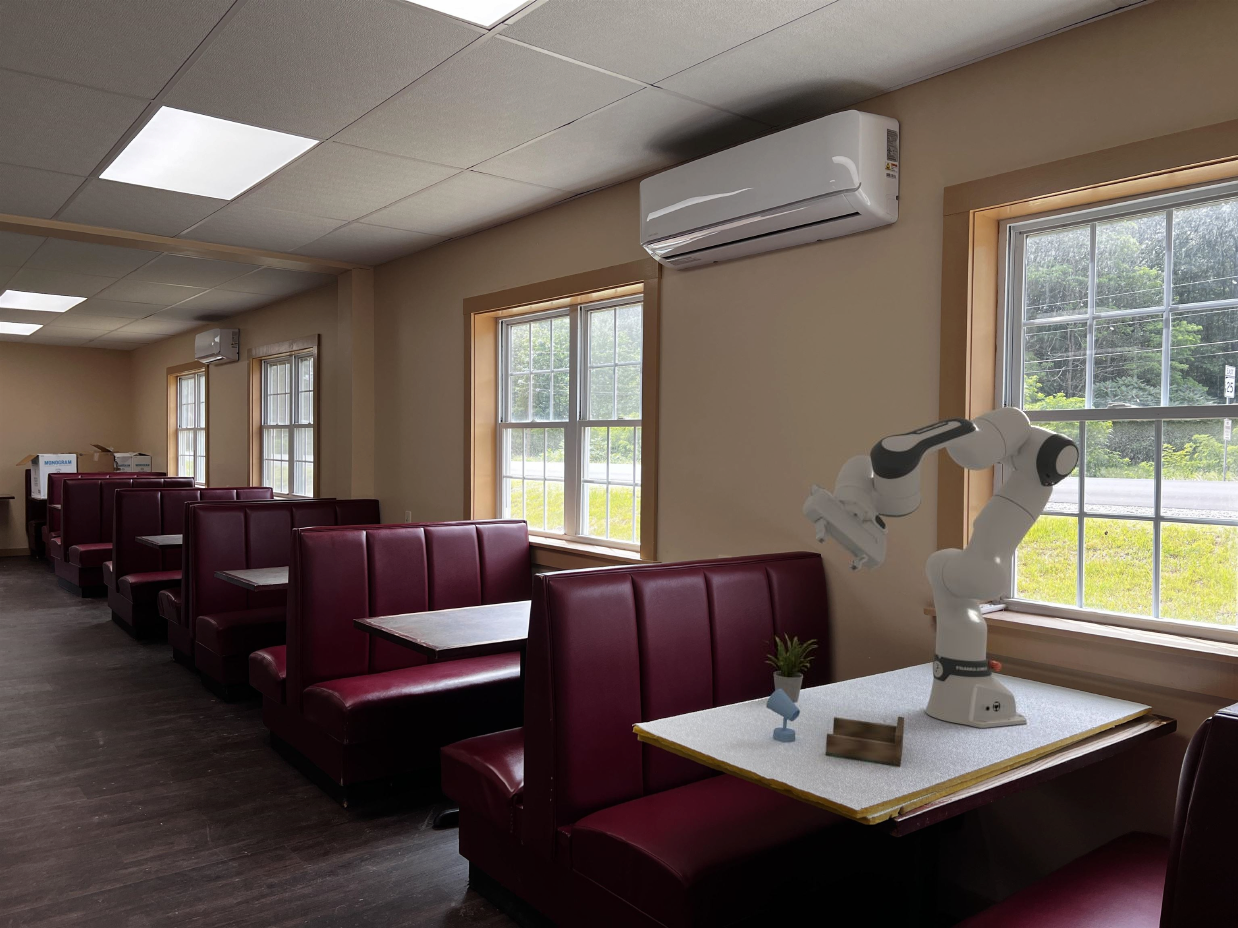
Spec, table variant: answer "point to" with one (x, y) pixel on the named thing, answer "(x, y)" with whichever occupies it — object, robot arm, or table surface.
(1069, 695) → the table surface
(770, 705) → the spotlight
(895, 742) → the wooden display tray
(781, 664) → the house plant
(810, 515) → the robot arm
